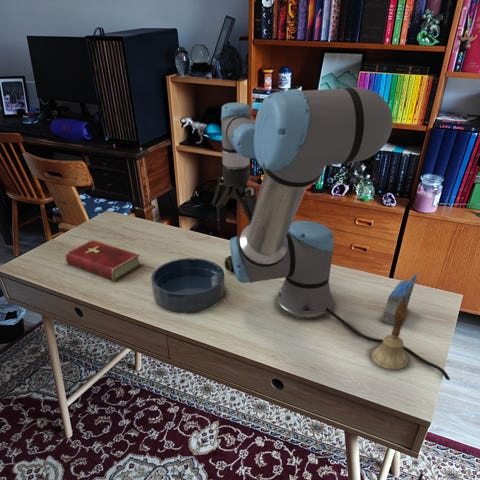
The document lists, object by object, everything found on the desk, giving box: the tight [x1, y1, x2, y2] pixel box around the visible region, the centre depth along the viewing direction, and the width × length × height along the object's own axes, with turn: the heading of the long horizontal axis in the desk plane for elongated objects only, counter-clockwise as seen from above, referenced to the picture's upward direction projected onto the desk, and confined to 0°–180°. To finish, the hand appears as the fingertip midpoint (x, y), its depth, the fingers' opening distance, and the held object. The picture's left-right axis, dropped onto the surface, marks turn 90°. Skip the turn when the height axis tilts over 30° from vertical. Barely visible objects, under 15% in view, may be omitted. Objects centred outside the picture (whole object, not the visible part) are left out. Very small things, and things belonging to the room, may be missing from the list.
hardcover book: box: [64, 239, 142, 282], centre depth 142 cm, size 12×21×4 cm, turn 58°
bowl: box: [150, 257, 226, 313], centre depth 127 cm, size 21×21×6 cm
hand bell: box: [371, 301, 409, 371], centre depth 100 cm, size 8×8×16 cm
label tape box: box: [382, 271, 418, 326], centre depth 116 cm, size 9×4×12 cm, turn 145°
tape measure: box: [224, 255, 235, 273], centre depth 139 cm, size 7×7×4 cm
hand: (236, 236), depth 134 cm, fingers open, 13 cm apart
